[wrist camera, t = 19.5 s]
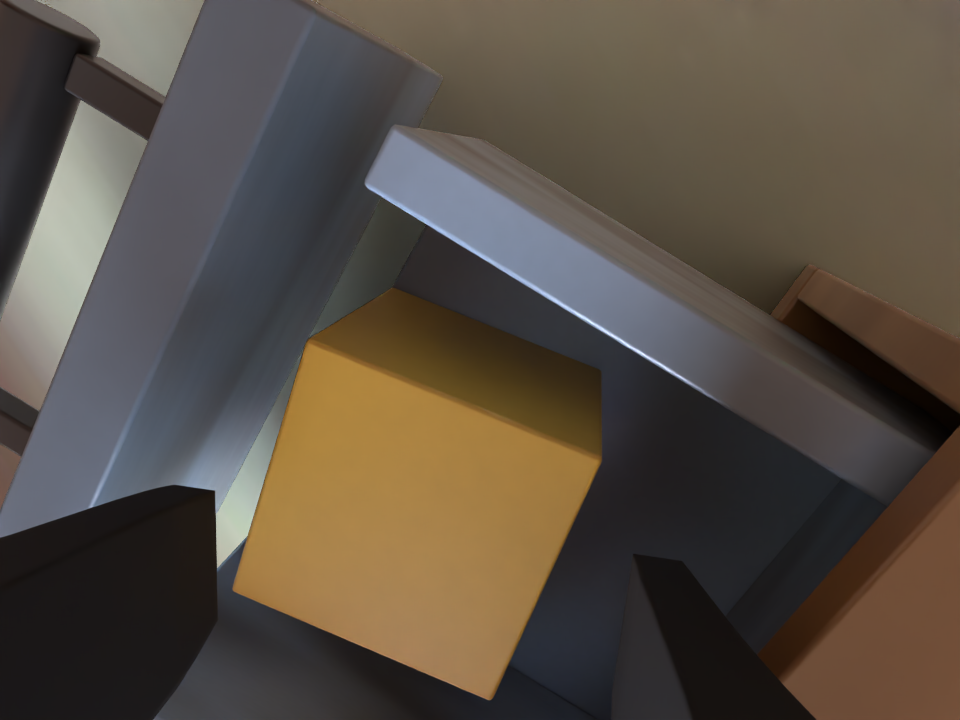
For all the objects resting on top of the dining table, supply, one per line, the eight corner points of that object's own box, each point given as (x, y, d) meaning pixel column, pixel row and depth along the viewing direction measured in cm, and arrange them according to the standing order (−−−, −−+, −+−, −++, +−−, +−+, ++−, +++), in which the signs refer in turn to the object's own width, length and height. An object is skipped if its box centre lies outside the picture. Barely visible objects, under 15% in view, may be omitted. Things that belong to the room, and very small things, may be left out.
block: (328, 476, 16) (229, 591, 11) (391, 285, 14) (305, 338, 10) (521, 556, 15) (491, 703, 11) (603, 369, 14) (603, 458, 10)
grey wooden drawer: (28, 396, 18) (-300, 532, 11) (210, -68, 14) (-111, -254, 8) (618, 757, 18) (627, 1096, 11) (940, 380, 14) (1216, 560, 8)
